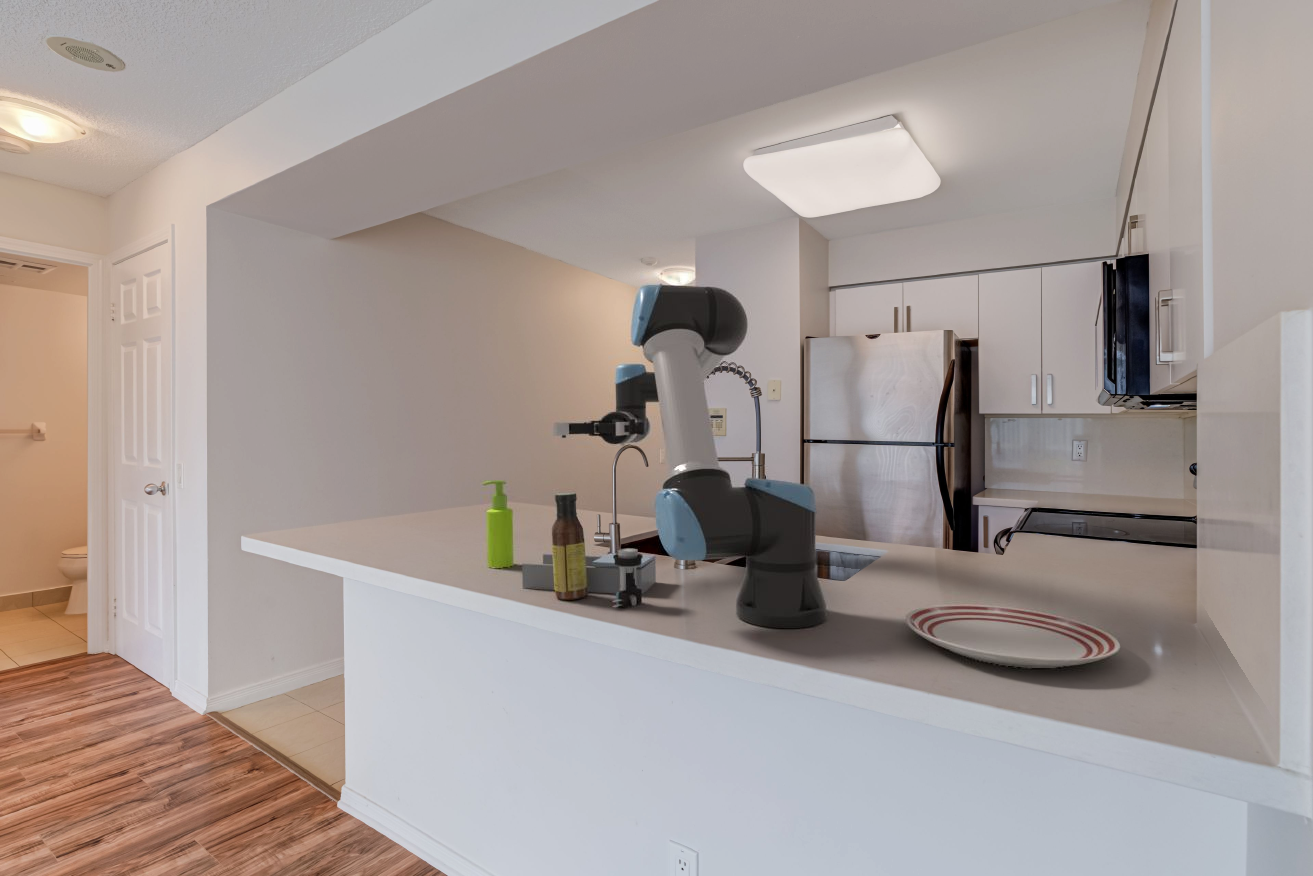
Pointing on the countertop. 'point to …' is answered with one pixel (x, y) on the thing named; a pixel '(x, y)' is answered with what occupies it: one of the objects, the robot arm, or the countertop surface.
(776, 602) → the robot arm
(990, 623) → the dinner plate
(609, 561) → the lid
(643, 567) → the grey shallow tray
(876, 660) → the countertop surface
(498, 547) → the soap dispenser
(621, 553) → the push button
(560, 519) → the sauce bottle
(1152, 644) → the countertop surface
